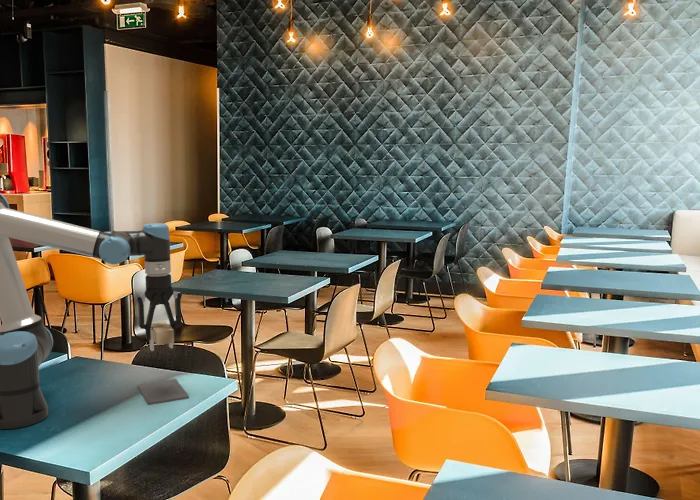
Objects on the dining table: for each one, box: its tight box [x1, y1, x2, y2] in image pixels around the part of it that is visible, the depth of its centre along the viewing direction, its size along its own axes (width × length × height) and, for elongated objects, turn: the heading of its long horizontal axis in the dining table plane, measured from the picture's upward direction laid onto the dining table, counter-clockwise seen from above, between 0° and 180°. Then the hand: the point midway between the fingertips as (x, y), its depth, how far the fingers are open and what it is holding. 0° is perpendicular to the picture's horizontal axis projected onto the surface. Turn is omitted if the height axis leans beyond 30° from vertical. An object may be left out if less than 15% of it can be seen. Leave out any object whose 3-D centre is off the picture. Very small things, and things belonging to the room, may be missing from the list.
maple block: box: [151, 321, 175, 346], centre depth 195 cm, size 5×4×12 cm
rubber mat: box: [137, 378, 190, 406], centre depth 198 cm, size 12×18×1 cm, turn 28°
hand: (161, 348), depth 196 cm, fingers closed on maple block, 5 cm apart
